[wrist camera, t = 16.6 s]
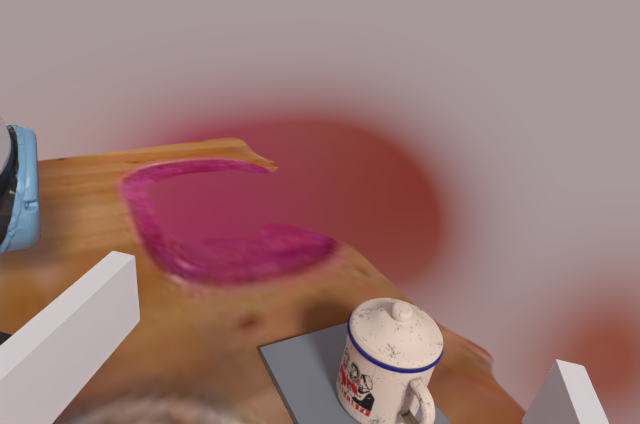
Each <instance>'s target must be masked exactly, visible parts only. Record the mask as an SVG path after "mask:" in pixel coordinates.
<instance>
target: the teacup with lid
mask: <svg viewBox="0 0 640 424" xmlns="http://www.w3.org/2000/svg"><path fill="white" fill-rule="evenodd" d="M347 330H348V334H347V339H346V343H345V347H344V351H343V356H342V360H341V364H340V368H339V373H338V377H337V382H336V389H337V394H338V397H339V400H340V402H341V404H342V406H343V407H344V409H345V410H346V411H347V412H348V413H349V414H350V415H351V416H352V417H353V418H354V419H356V420H357V421H359V422H360V423H362V424H433V423H434V420H435V406H434V402H433V399H432V396H431V394H430V392H429V390H428V388H427V385H428V382H429V380H430V377H431V375H432V372H433V369H434V367H435V365H436V364H437V363H438V362H439V360H440V358H441V356H442V354H443V338H442V335H441V332H440V330H439V328H438V326H437V324H436V323H435V322H434V321H433V319H432V318H431V317H430V316H429V315H427V314H426V313H425V312H424V311H422V310H421V309H419V308H418V307H416V306H414V305H412V304H410V303H407V302H404V301H401V300H397V299H392V298H376V299H371V300H368V301H365V302H363V303H362V304H360V305H359V306H358V307H356V309H355V310H354V311H353V312H352V314H351V315H350V317H349V320H348V324H347ZM419 406H420V408H421V419H420V421H418V420H417V419H416V418H415V415H416V413H417V411H418V408H419Z"/></svg>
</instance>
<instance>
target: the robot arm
mask: <svg viewBox="0 0 640 424" xmlns="http://www.w3.org/2000/svg"><path fill="white" fill-rule="evenodd" d="M39 238H40V203H39V181H38V162H37V143H36V135H35V133H34V131H32V130H31V129H29V128H23V127H18V126H17V125H9V126H6V125H5V122H4V121H3V119H2V118H1V117H0V255H1V254H3V253H7V252H14V251H20V250H26V249H29V248H31V247H33V246H34V245H35V244H36V243H37V242H38V240H39ZM139 321H140V313H139V301H138V289H137V277H136V265H135V256H133V255H129V254H125V253H121V252H117V251H112V252H111V253H110V254H108V255H107V256H106V257H105V258H104V259H102V260H101V261H100V262H99V263H98V264H97V265H95V266H94V267H93V268H92V269H91V270H89V271H88V272H87V273H86V274H85V275H83V276H82V277H81V278H80V279H79V280H78V281H76V282H75V283H74V284H73V285H72V286H70V287H69V288H68V289H67V290H66V291H65V292H63V293H62V294H61V295H60V296H59V297H57V298H56V299H55V300H54V301H53V302H51V303H50V304H49V305H48V306H47V307H46V308H44V309H43V310H42V311H41V312H40V313H38V314H37V315H36V316H35V317H34V318H32V319H31V320H30V321H29V322H28V323H27V324H25V325H24V326H23V327H22V328H21V329H19V330H18V331H17V332H16V333H15V334H14V335H10V334H6V333H3V332H0V424H52V423H53V422H54V421H55V420H56V418H57V417H58V416H59V415H60V414H61V413H62V411H63V410H64V409H65V408H66V407H67V406H68V404H69V403H70V402H71V401H72V400H73V398H74V397H75V396H76V395H77V394H78V393H79V391H80V390H81V389H82V388H83V387H84V386H85V384H86V383H87V382H88V381H89V380H90V379H91V377H92V376H93V375H94V374H95V373H96V371H97V370H98V369H99V368H100V367H101V366H102V364H103V363H104V362H105V361H106V360H107V359H108V357H109V356H110V355H111V354H112V353H113V351H114V350H115V349H116V348H117V347H118V346H119V344H120V343H121V342H122V341H123V340H124V339H125V337H126V336H127V335H128V334H129V333H130V332H131V330H132V329H133V328H134V327H135V326H136V324H137V323H138V322H139ZM522 424H609V422H608V420H607V418H606V415H605V413H604V411H603V409H602V407H601V404H600V402H599V400H598V397H597V395H596V393H595V390H594V388H593V386H592V384H591V381H590V379H589V377H588V374H587V372H586V370H585V368H584V366H581V365H577V364H573V363H569V362H565V361H561V360H557V359H556V360H555V362H554V364H553V366H552V367H551V369H550V371H549V373H548V375H547V376H546V378H545V380H544V382H543V384H542V385H541V387H540V389H539V391H538V392H537V394H536V396H535V398H534V400H533V402H532V403H531V405H530V407H529V409H528V410H527V412H526V414H525V416H524V417H523V419H522Z"/></svg>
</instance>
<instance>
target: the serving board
mask: <svg viewBox="0 0 640 424" xmlns="http://www.w3.org/2000/svg"><path fill="white" fill-rule="evenodd" d="M347 324H348V322H346V323H343V324H340V325H336V326H333V327H329V328H326V329H322V330H319V331H315V332H312V333H308V334H305V335H301V336H298V337H294V338H291V339H288V340H284V341H281V342H277V343H274V344H270V345H267V346H263V347H260V350H259V355H260V357H261V359H262V361H263V363H264V365H265V367H266V369H267V371H268V373H269V375H270V376H271V378H272V380H273V382H274V384H275V386H276V388H277V390H278V392H279V394H280V396H281V398H282V400H283V402H284V404H285V406H286V408H287V410H288V412H289V414H290V416H291V418H292V420H293V422H294V424H362V423H360V422H359V421H357V420H356V419H354V418H353V417H352V416H351V415H350V414H349V413H348V412H347V411H346V410H345V409H344V407H343V406H342V404H341V402H340V400H339V397H338V394H337V389H336V382H337V377H338V373H339V368H340V364H341V360H342V356H343V351H344V347H345V343H346V339H347V334H348V330H347ZM434 406H435V420H434V423H433V424H451V423H450V422H449V421H448V419H447V418H446V417H445V416H444V415H443V413H442V412H441V411H440V410H439V409H438V407H437V406H436V405H435V404H434ZM415 418H416V419H417V420H418V421H420V419H421V408H420V406H419V408H418V411H417V413H416V415H415Z"/></svg>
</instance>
